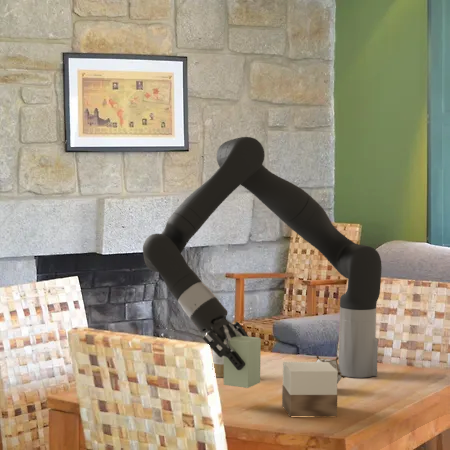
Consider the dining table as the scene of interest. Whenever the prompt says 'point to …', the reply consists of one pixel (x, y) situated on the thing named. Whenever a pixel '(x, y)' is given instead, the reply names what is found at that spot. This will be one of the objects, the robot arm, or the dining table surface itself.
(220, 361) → the sprinkles bottle
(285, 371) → the tower top
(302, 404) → the tower bottom
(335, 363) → the game die
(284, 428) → the dining table surface
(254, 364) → the sage block
